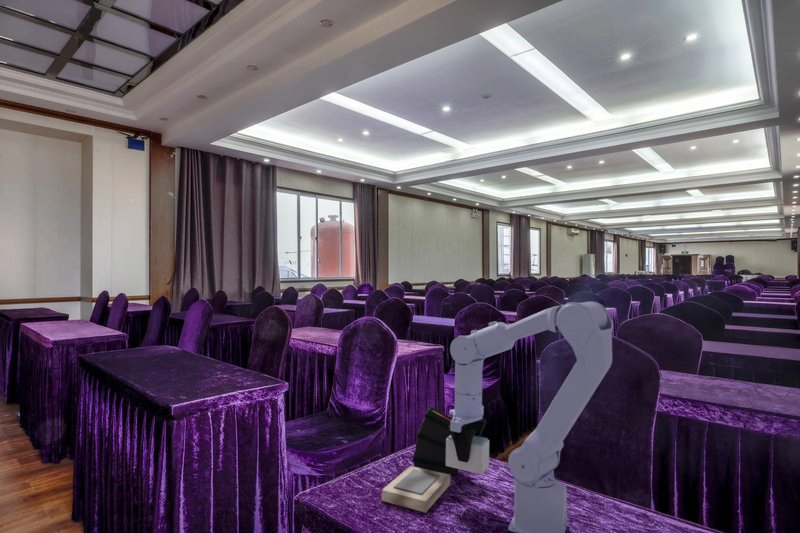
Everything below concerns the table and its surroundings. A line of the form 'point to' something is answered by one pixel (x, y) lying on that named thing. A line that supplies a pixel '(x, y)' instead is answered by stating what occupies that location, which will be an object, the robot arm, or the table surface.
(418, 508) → the stand
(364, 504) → the table surface
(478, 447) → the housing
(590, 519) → the table surface
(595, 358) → the robot arm
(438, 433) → the magazine
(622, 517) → the table surface
